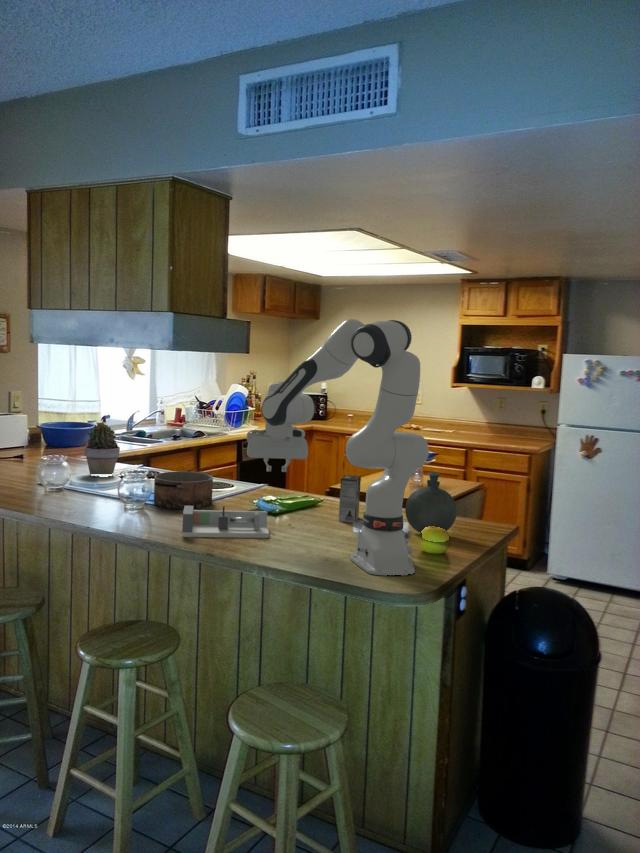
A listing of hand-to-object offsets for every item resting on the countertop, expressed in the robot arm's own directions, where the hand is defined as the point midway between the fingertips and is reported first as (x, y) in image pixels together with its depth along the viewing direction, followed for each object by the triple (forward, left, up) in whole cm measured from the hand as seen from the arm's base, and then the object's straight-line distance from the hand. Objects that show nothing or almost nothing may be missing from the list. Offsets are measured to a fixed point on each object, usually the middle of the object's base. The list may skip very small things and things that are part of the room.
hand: (276, 471), depth 231 cm
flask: (+1, -55, -21) cm, 59 cm away
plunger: (0, +10, -19) cm, 22 cm away
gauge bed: (0, +16, -21) cm, 26 cm away
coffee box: (+21, -30, -21) cm, 42 cm away
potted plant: (+97, +71, -21) cm, 122 cm away
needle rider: (0, +17, -19) cm, 26 cm away
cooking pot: (+43, +32, -22) cm, 58 cm away
